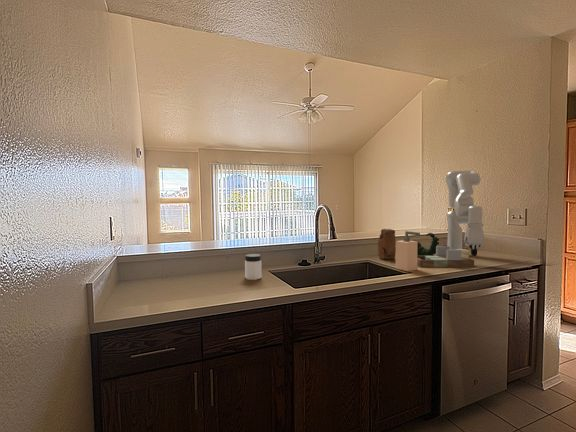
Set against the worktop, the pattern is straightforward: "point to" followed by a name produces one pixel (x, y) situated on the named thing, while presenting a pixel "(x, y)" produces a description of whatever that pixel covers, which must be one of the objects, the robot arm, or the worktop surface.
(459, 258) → the tunnel walls
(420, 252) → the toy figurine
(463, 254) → the birch cube
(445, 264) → the walnut deck
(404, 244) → the soap dispenser
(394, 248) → the block
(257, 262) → the jar
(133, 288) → the worktop surface
